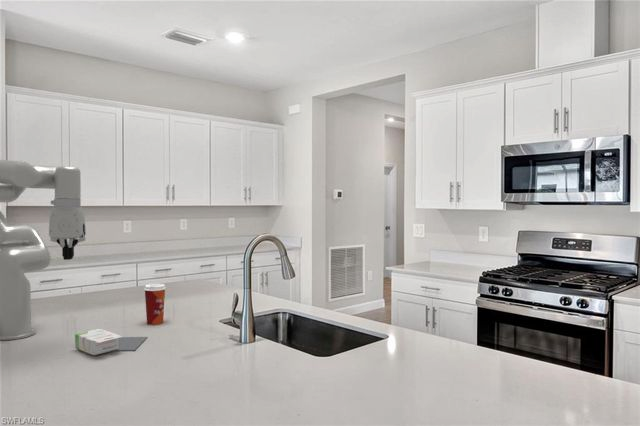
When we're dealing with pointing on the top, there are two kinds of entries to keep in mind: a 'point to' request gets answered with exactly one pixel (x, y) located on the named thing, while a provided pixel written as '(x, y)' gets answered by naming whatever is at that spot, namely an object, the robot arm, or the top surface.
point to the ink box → (96, 341)
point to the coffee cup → (154, 303)
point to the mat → (129, 343)
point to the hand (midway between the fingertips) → (68, 259)
